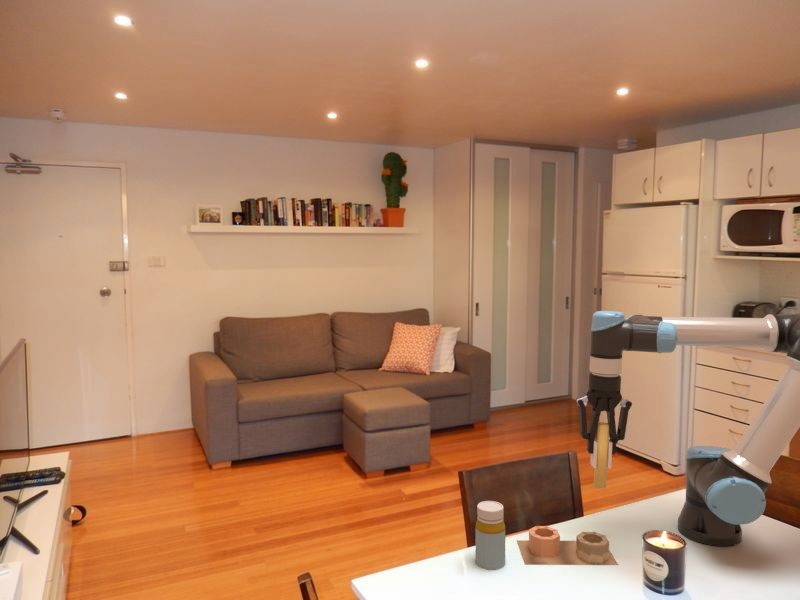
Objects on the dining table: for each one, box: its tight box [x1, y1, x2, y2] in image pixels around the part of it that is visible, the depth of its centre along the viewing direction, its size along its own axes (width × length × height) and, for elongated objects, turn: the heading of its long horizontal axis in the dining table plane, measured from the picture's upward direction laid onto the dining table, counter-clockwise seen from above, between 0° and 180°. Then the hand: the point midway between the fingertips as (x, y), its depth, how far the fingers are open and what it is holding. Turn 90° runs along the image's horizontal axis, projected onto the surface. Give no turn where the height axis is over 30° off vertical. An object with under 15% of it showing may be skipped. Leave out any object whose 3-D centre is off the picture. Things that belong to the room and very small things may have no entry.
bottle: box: [475, 500, 506, 571], centre depth 143 cm, size 7×7×15 cm
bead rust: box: [528, 525, 561, 557], centre depth 149 cm, size 7×7×4 cm
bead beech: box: [575, 531, 610, 564], centre depth 145 cm, size 7×7×4 cm
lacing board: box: [516, 539, 619, 566], centre depth 148 cm, size 22×12×1 cm, turn 88°
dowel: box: [593, 421, 610, 490], centre depth 150 cm, size 3×3×16 cm
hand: (600, 466), depth 150 cm, fingers closed on dowel, 3 cm apart
